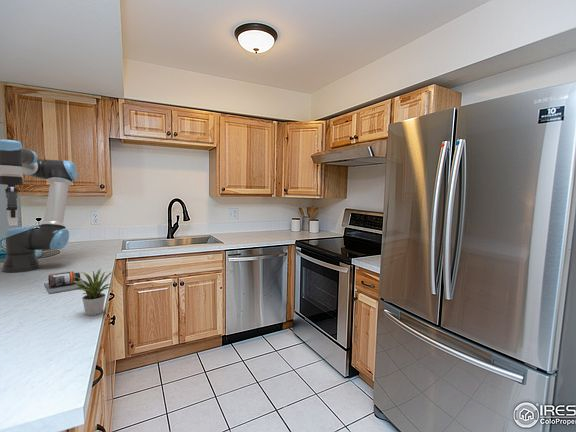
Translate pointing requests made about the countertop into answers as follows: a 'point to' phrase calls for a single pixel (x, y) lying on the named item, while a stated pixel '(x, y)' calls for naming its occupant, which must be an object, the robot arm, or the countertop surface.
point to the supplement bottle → (63, 278)
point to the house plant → (93, 293)
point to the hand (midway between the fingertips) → (12, 223)
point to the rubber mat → (63, 287)
